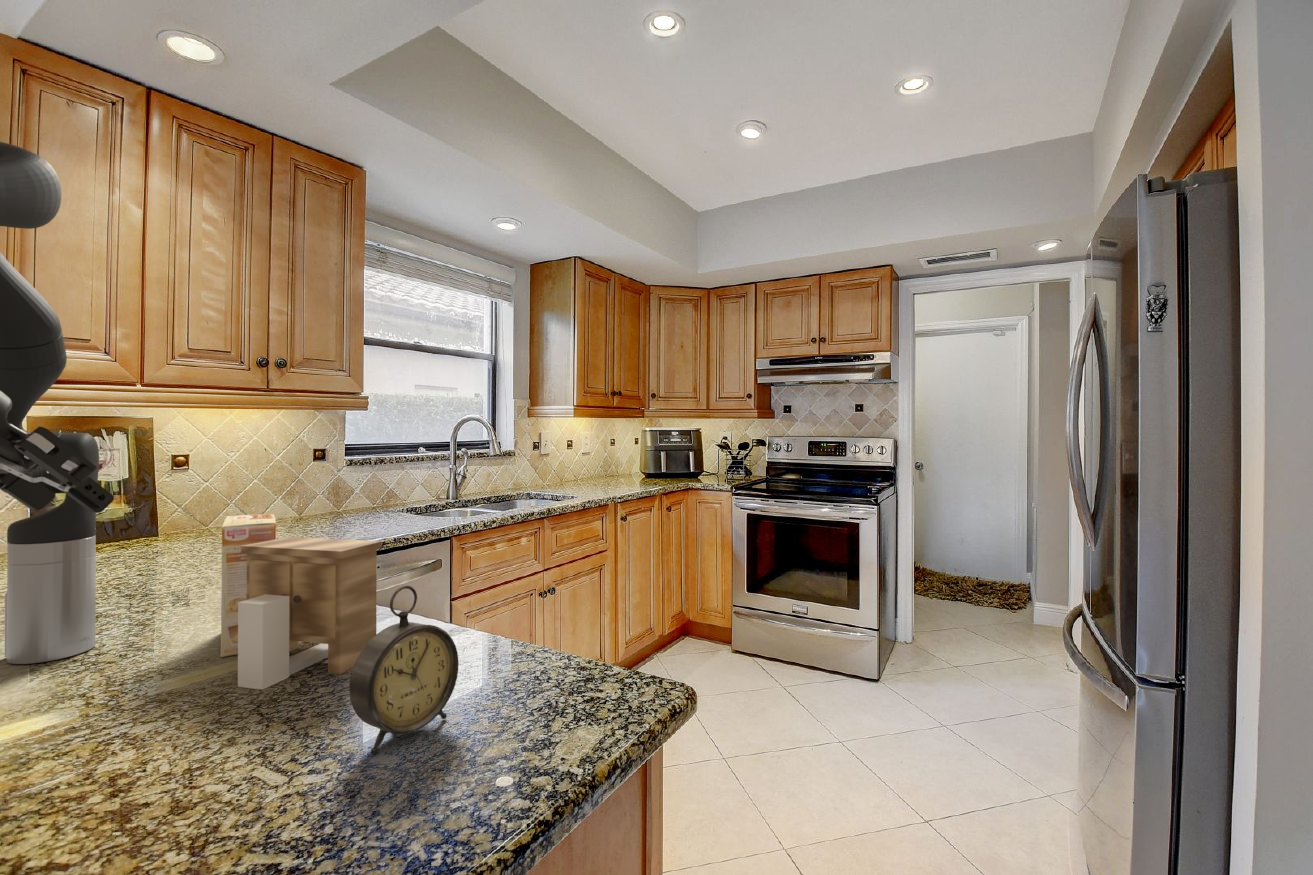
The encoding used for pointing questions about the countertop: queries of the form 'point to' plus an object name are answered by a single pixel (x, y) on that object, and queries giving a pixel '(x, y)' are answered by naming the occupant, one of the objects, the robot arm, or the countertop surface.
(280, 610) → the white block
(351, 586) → the cabinet
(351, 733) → the countertop surface
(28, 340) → the robot arm
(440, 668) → the alarm clock
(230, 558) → the coffeecake box
